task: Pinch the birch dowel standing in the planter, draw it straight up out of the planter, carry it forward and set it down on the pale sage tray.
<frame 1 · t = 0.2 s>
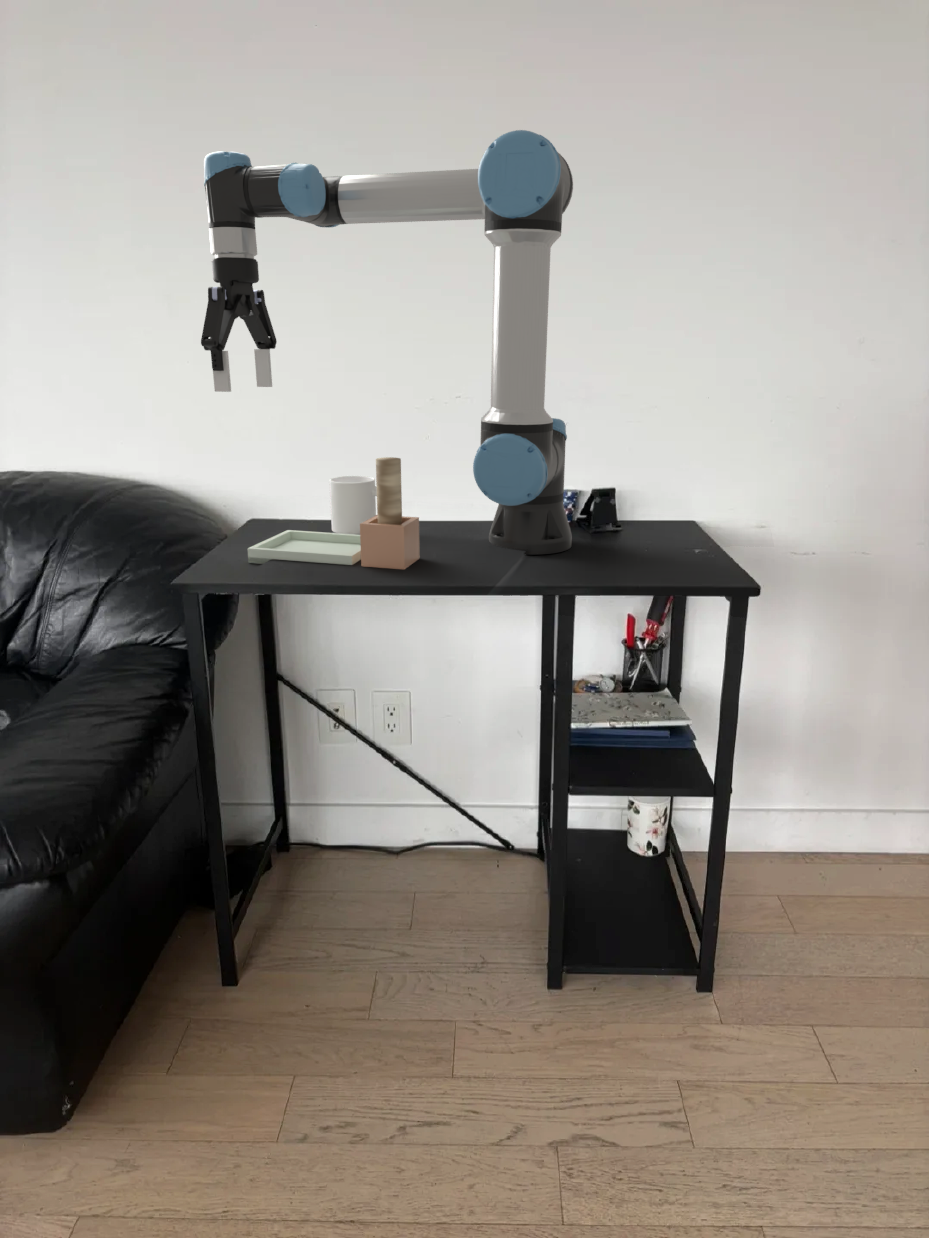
hand: (244, 389, 153), 28 cm above the table, fingers open, 13 cm apart
tray: (318, 556, 153), on the table
mug: (362, 535, 170), on the table
dowel: (390, 562, 146), point 1 cm above the table, touching planter
planter: (391, 567, 146), on the table
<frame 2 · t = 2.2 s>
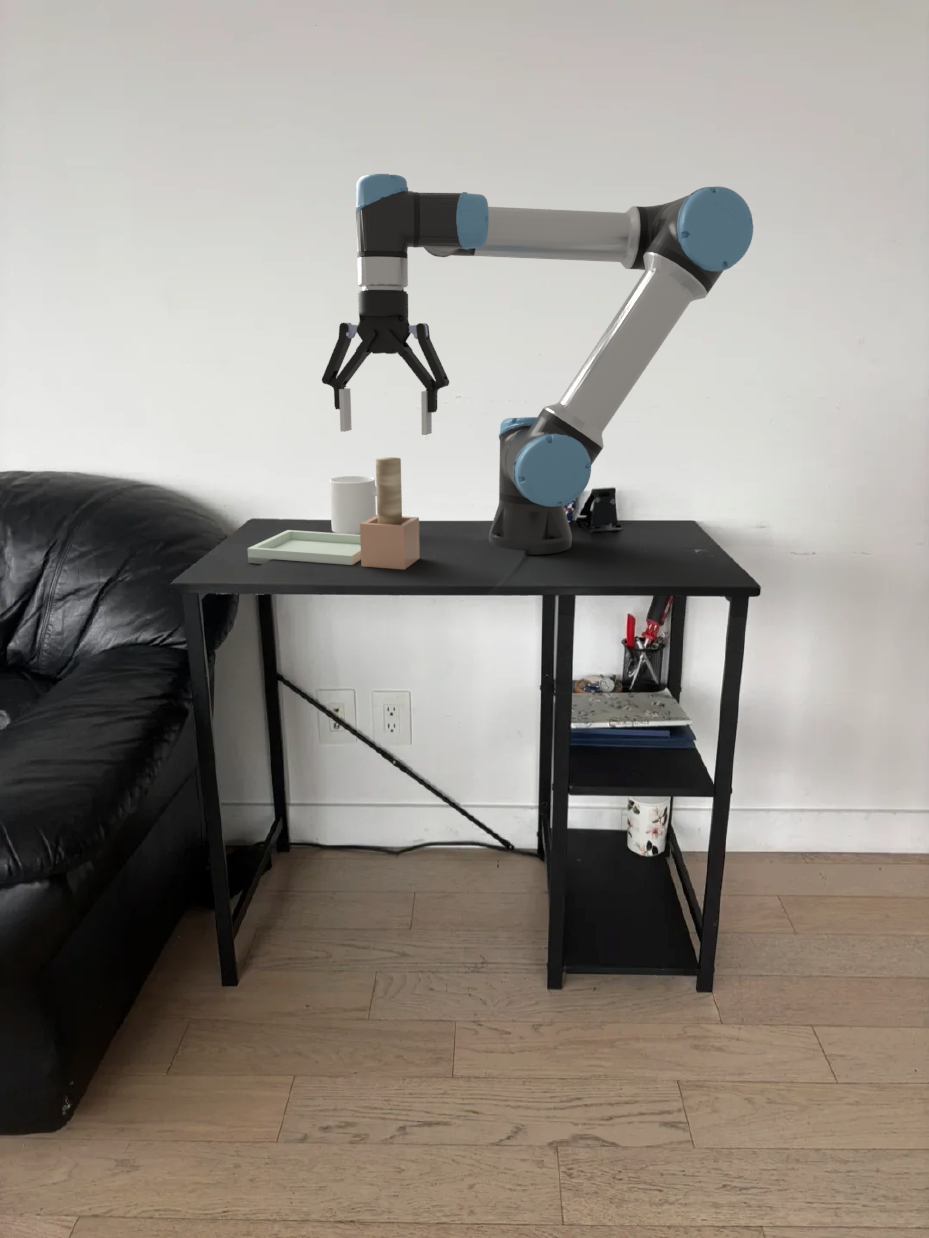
hand: (385, 432, 139), 22 cm above the table, fingers open, 13 cm apart
nothing on the table moved.
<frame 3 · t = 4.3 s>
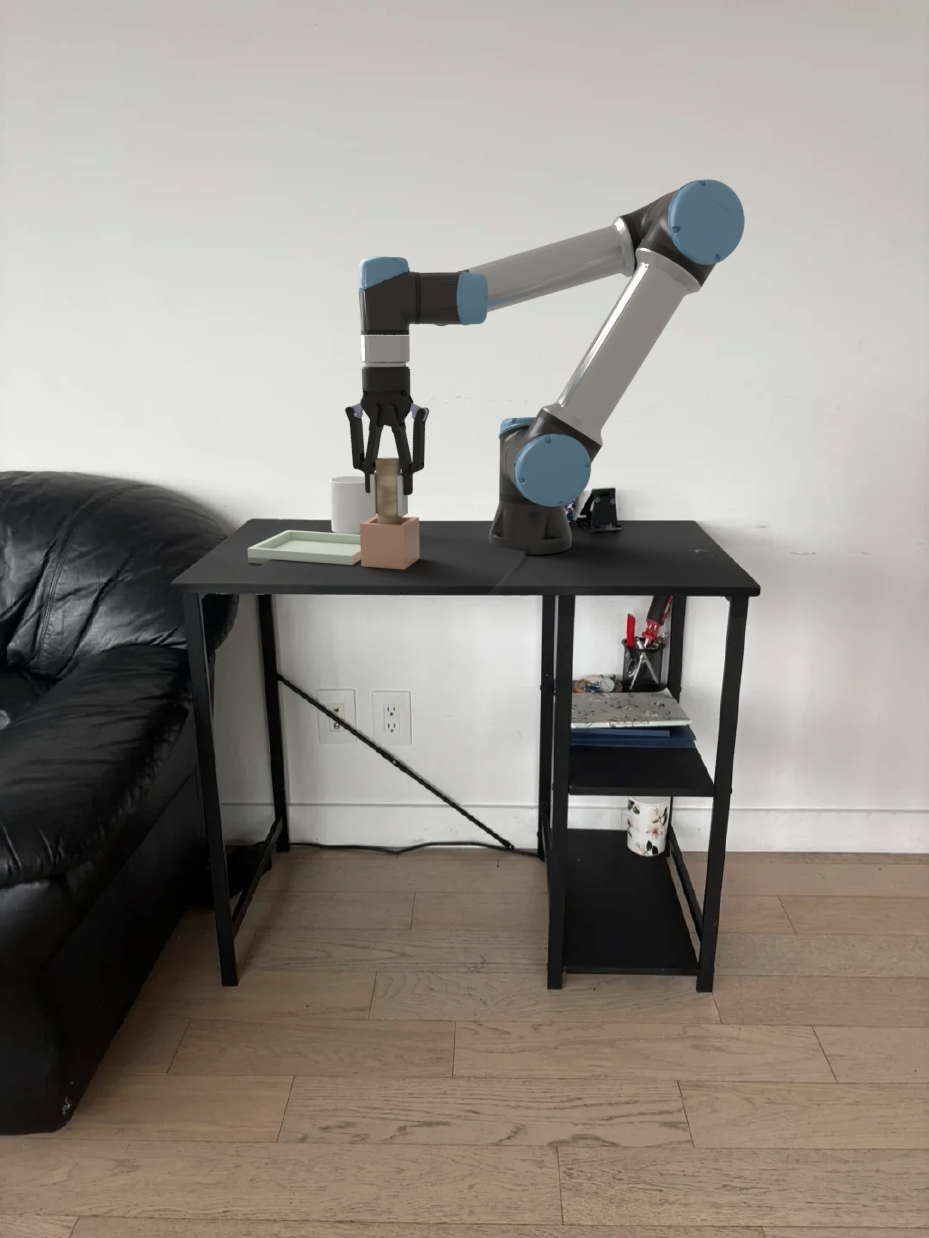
hand: (389, 513, 143), 9 cm above the table, fingers closed on dowel, 4 cm apart
dowel: (390, 562, 146), point 1 cm above the table, touching planter, gripper
everything else where it was.
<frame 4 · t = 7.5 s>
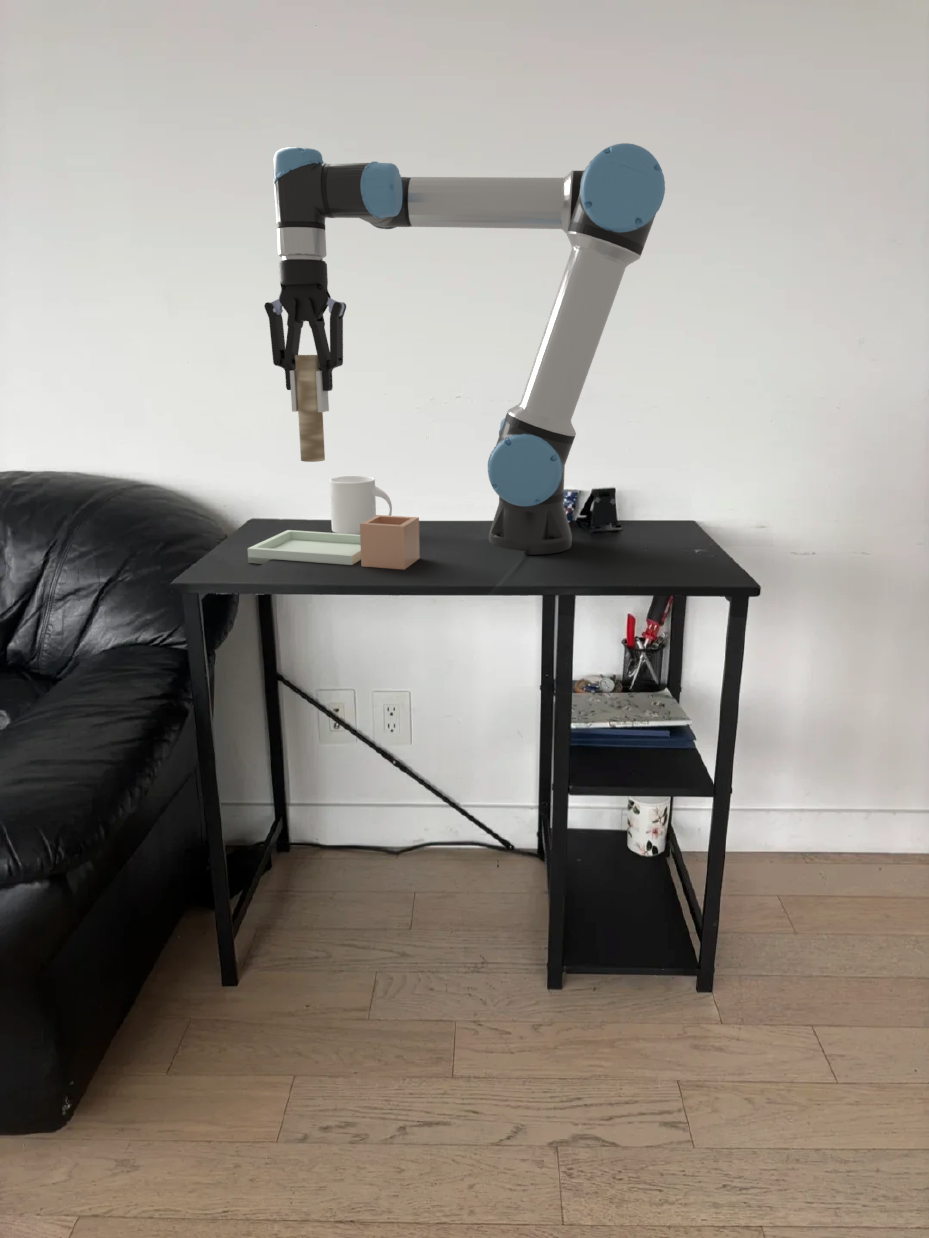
hand: (310, 410, 146), 25 cm above the table, fingers closed on dowel, 4 cm apart
dowel: (312, 460, 148), point 17 cm above the table, touching gripper
everything else where it was.
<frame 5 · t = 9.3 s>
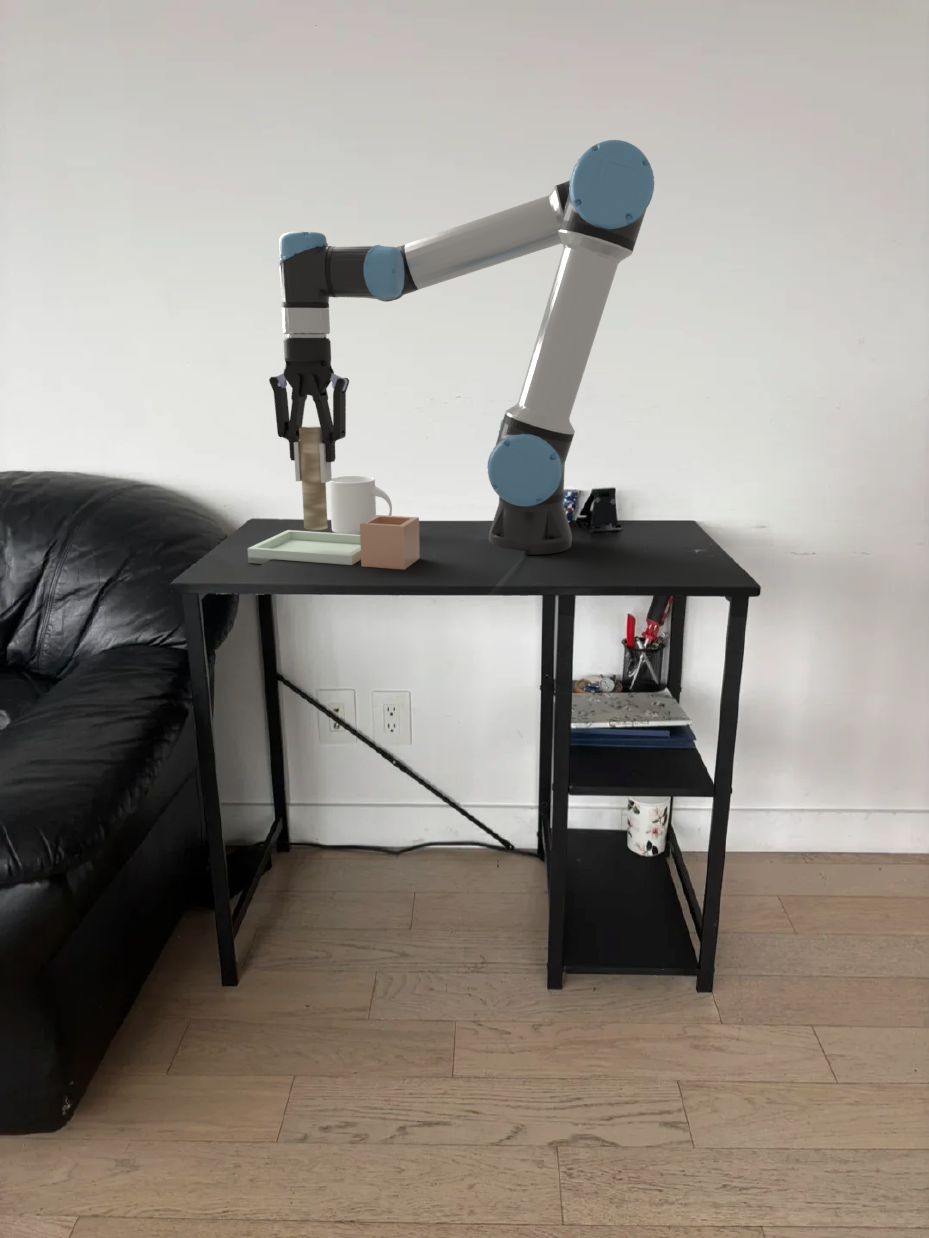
hand: (313, 480, 149), 13 cm above the table, fingers closed on dowel, 4 cm apart
dowel: (315, 527, 152), point 5 cm above the table, touching gripper
everything else where it was.
when the fingers open (11 cm above the table, at t = 10.6 s): dowel drops 3 cm, resting on tray.
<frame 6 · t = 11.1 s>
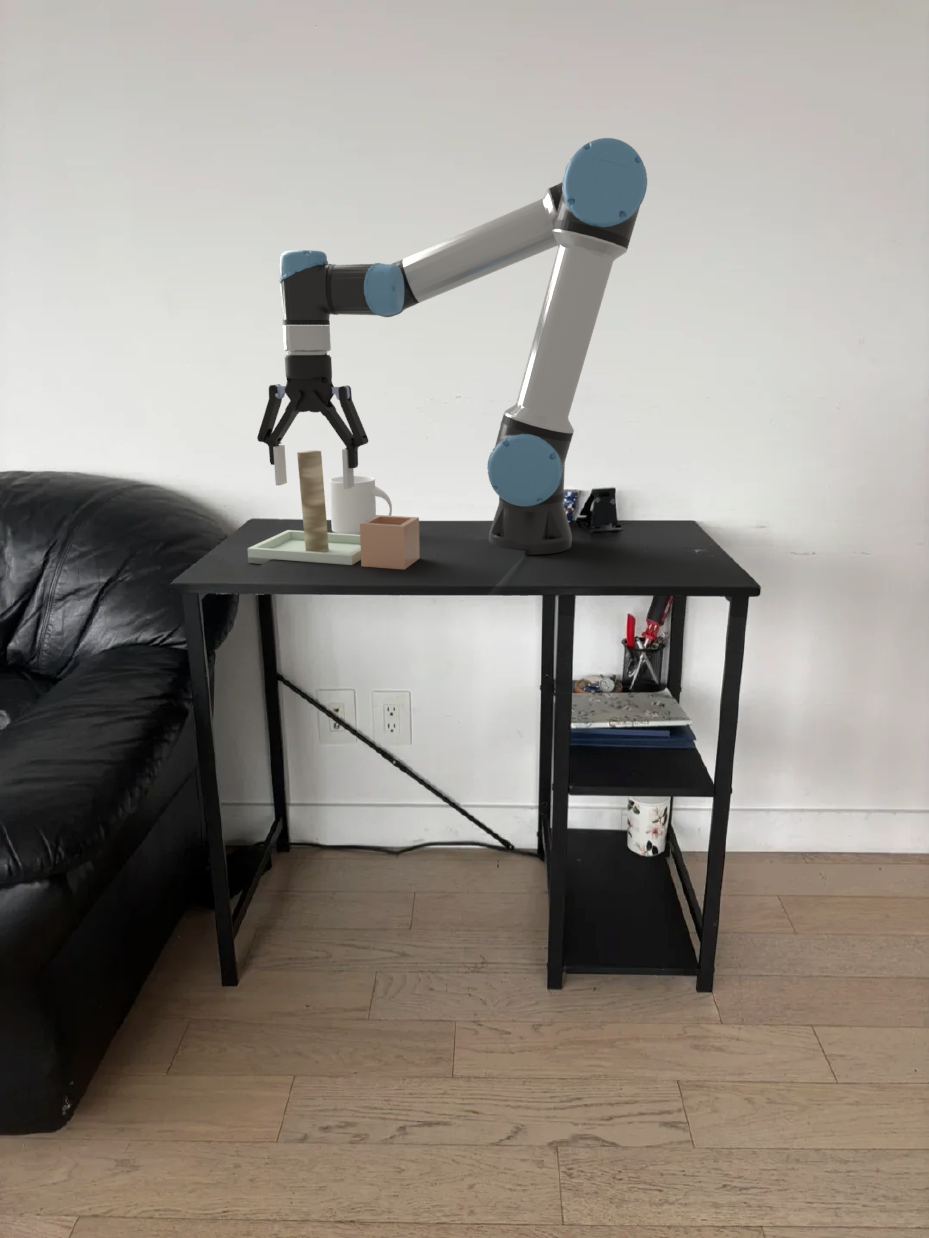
hand: (314, 486, 150), 12 cm above the table, fingers open, 12 cm apart
dowel: (317, 550, 153), point 1 cm above the table, touching tray
everything else where it was.
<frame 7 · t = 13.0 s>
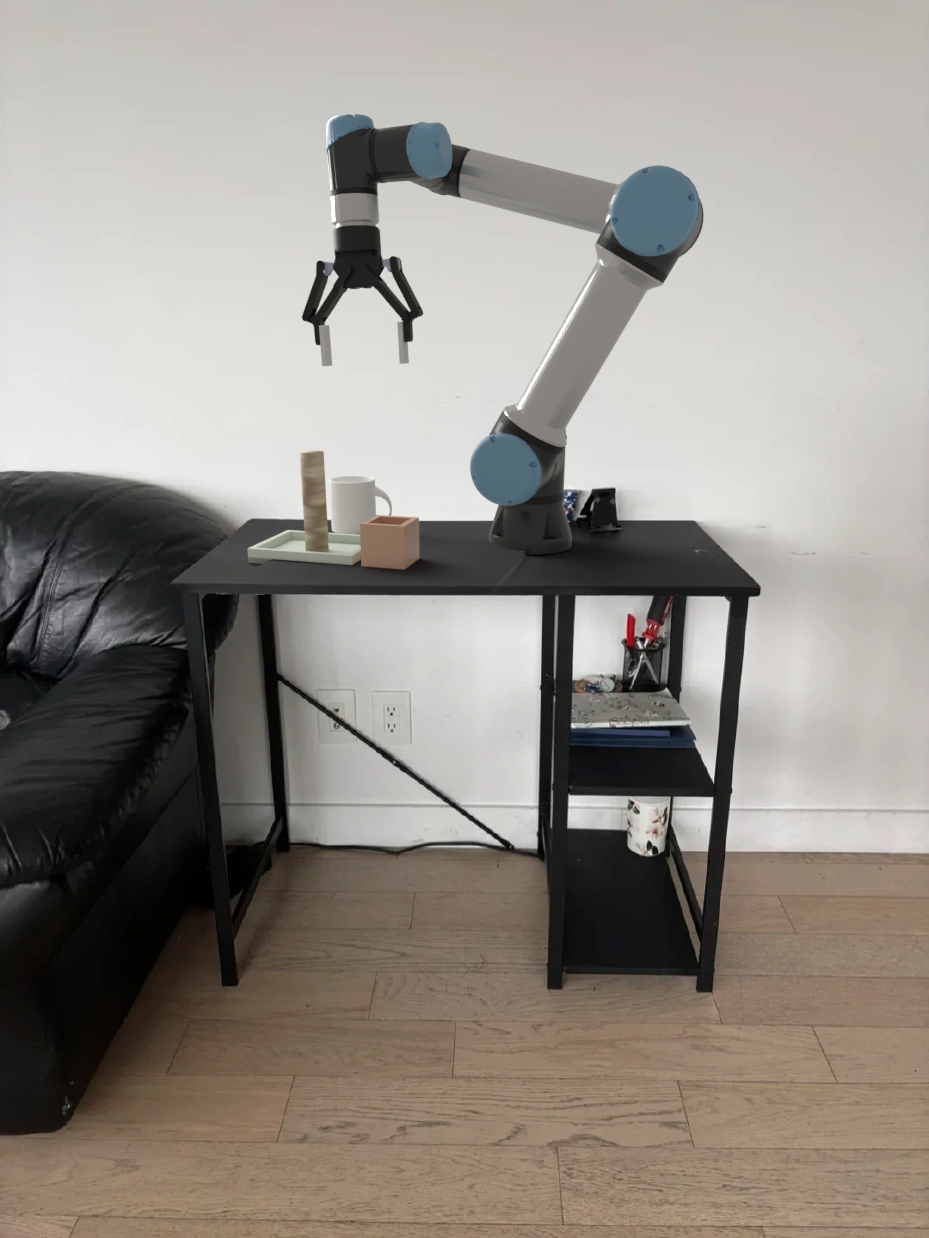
hand: (365, 365, 146), 32 cm above the table, fingers open, 13 cm apart
nothing on the table moved.
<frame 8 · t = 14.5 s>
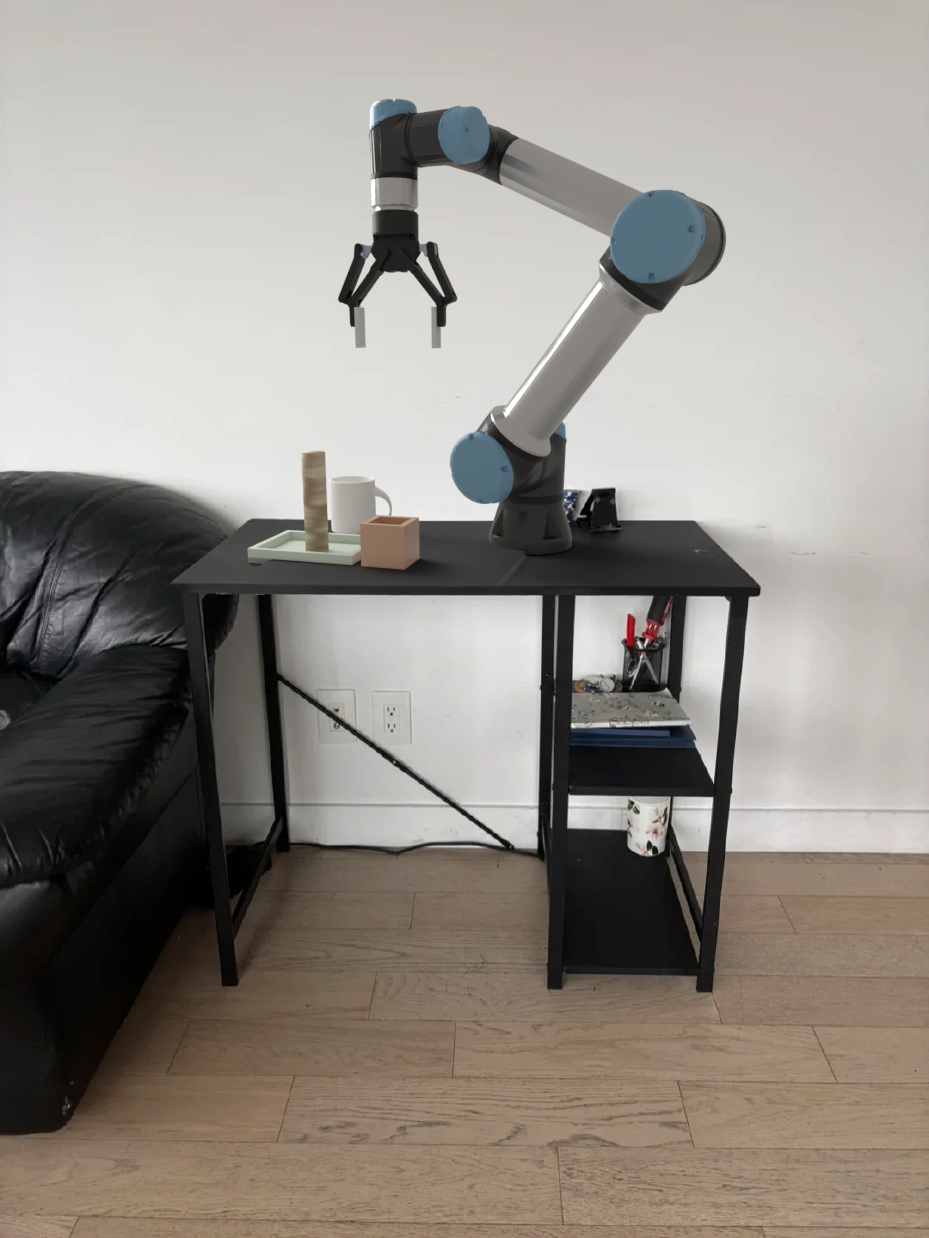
hand: (398, 348, 149), 35 cm above the table, fingers open, 13 cm apart
nothing on the table moved.
at the end: dowel inside the target area on the tray (0.1 cm from its centre), point 1.1 cm above the tray's base; the gripper is holding nothing; dowel moved 15.7 cm from its start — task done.
